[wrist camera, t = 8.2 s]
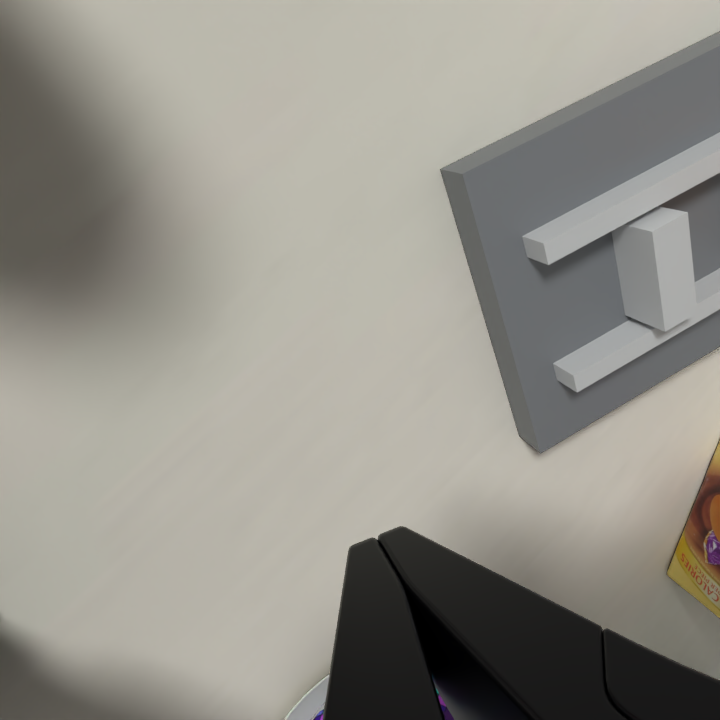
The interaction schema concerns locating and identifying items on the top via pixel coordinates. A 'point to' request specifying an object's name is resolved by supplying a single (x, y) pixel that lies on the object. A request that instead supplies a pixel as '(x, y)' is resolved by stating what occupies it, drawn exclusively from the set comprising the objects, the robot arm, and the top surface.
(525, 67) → the top surface
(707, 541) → the candy box
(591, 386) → the board
